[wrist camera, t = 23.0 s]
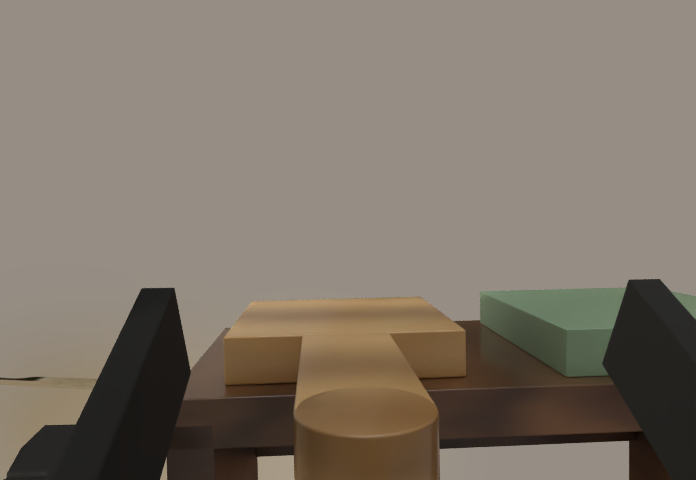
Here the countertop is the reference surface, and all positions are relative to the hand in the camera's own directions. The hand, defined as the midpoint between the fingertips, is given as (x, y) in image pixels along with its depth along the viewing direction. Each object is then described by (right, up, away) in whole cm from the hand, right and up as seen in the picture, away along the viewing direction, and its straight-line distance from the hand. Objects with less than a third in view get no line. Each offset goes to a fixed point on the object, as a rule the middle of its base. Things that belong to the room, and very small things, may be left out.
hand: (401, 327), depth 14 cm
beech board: (-1, -4, +9) cm, 9 cm away
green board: (+13, -3, +15) cm, 20 cm away
